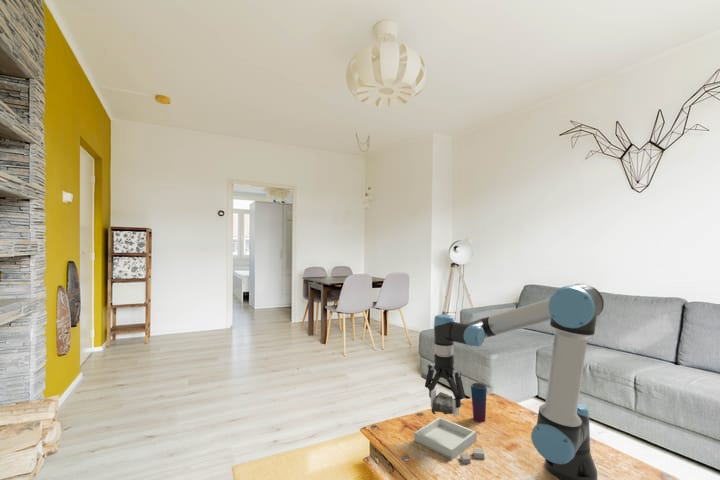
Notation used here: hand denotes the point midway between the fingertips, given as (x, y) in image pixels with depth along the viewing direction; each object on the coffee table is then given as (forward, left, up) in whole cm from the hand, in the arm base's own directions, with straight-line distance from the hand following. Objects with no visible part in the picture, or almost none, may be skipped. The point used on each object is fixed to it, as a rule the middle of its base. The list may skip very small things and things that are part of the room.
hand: (444, 410), depth 136 cm
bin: (0, 0, -12) cm, 12 cm away
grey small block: (-14, 0, -12) cm, 19 cm away
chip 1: (-12, +6, -12) cm, 18 cm away
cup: (-1, -26, -12) cm, 29 cm away
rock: (+1, -1, -1) cm, 2 cm away
